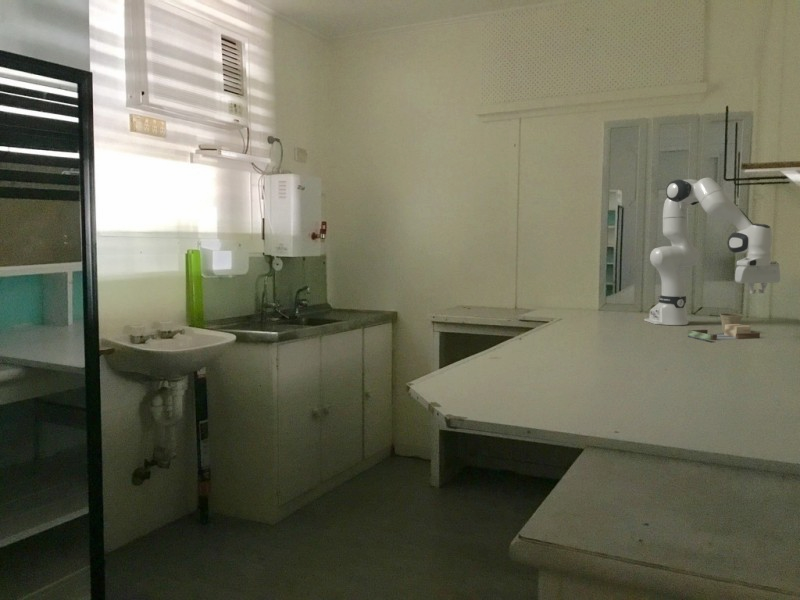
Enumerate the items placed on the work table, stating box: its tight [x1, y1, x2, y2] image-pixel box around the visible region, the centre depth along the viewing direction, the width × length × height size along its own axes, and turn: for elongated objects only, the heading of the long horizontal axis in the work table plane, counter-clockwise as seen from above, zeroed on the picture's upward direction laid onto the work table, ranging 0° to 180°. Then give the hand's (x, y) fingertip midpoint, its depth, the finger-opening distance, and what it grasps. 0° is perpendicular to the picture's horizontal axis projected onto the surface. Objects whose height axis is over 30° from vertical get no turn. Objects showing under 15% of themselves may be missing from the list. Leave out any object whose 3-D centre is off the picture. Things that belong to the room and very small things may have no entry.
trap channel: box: [687, 329, 761, 343], centre depth 267 cm, size 14×24×3 cm, turn 103°
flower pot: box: [719, 312, 744, 333], centre depth 280 cm, size 9×9×9 cm
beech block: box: [723, 323, 752, 337], centre depth 268 cm, size 7×7×4 cm
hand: (757, 293), depth 269 cm, fingers open, 3 cm apart
